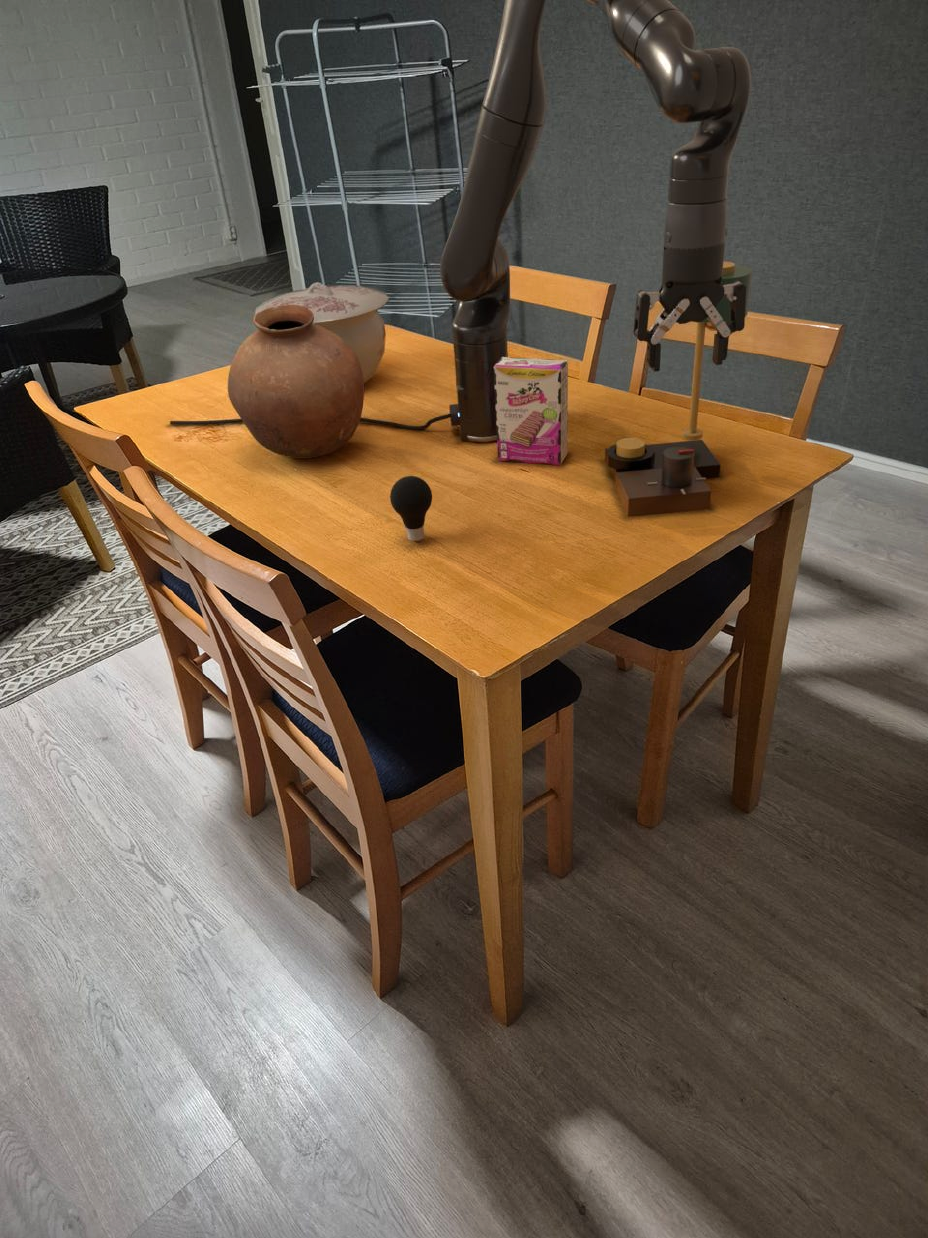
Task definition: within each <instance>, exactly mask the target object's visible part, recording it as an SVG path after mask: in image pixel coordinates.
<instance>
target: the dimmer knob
mask: <svg viewBox="0 0 928 1238" xmlns="http://www.w3.org/2000/svg"><path fill="white" fill-rule="evenodd" d="M693 464H694V449H688V448H684V447H672V448H668V449H666V450H665V451H664V452H663V464H662V479H661V481H662V483H663V484H664V485H666V486H669V487H674V488H681V487H686V486H689V485H690V484H691V483H692V476H693Z"/></svg>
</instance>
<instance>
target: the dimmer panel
mask: <svg viewBox="0 0 928 1238" xmlns="http://www.w3.org/2000/svg"><path fill="white" fill-rule="evenodd" d="M661 479H662V468H660V469H650V470H639V471H628V472H617V473H616V483H615V492H616V495H617V497H618V499H619V500H620V503H621V505H622V507H623V509H624V511H625V514H626V516H627V518H629V517H641V516H652V515H661V514H662V515H663V514H672V513H673V514H674V513H684V512H695V511H705V510H707V511H708V510H710V509H711V498H712V490H711V489H710V486H709V485H708V484H707V482H706V481H705V480H707V479H706V478H702V477H701V475H700V474H699V472H698V471H697V469H696V468H695V466H694V465H693V476H692V483H691V484H690V485H689V486H686V487H681V488H674V487H669V486H666V485H664V484H663V483H662V481H661Z"/></svg>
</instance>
